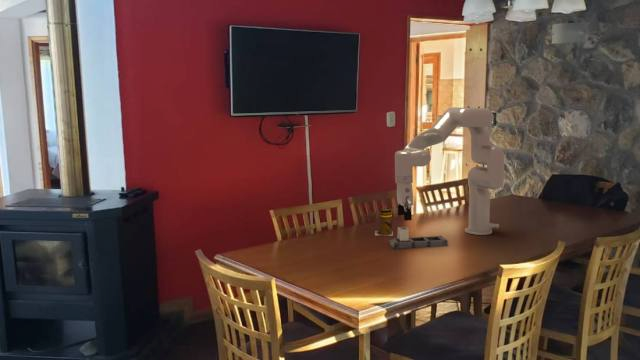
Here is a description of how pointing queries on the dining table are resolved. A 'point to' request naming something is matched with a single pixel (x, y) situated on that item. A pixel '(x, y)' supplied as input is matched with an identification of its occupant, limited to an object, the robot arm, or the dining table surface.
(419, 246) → the grey flat rectangular frame
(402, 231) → the block
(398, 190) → the robot arm
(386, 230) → the condiment
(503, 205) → the dining table surface
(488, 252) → the dining table surface
